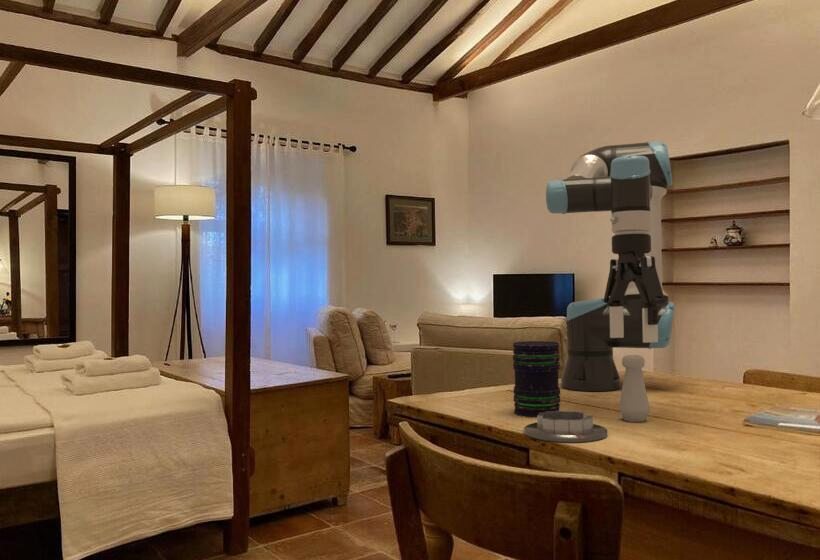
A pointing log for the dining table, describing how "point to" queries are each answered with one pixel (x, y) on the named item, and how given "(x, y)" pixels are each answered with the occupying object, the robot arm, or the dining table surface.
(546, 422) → the socket
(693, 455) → the dining table surface
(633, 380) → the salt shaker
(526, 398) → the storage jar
